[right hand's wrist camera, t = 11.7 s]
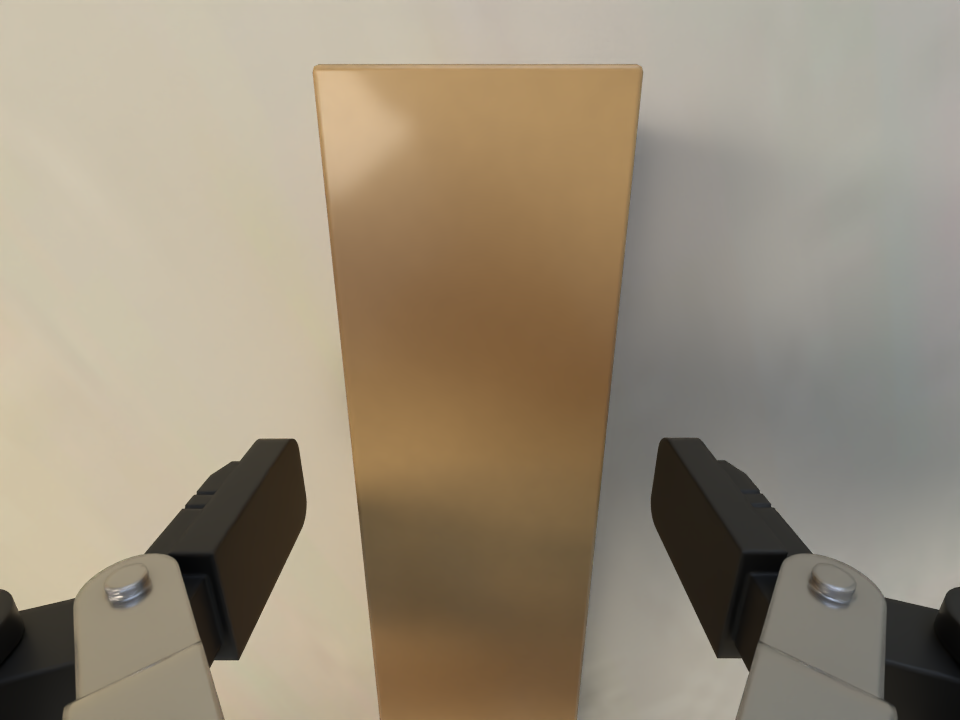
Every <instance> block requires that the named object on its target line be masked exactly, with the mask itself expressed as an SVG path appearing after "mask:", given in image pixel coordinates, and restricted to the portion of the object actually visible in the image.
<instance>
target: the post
mask: <svg viewBox="0 0 960 720" xmlns="http://www.w3.org/2000/svg"><path fill="white" fill-rule="evenodd" d="M642 78H643V70H642V67H641V66H639V65H637V64H318V65H316V66H314V69H313V80H314V89H315V99H316V109H317V118H318V128H319V138H320V147H321V157H322V166H323V176H324V186H325V195H326V205H327V214H328V224H329V234H330V243H331V253H332V263H333V272H334V282H335V291H336V301H337V311H338V320H339V330H340V339H341V349H342V359H343V368H344V378H345V388H346V397H347V407H348V416H349V426H350V436H351V445H352V455H353V464H354V474H355V484H356V493H357V503H358V512H359V522H360V532H361V541H362V551H363V561H364V570H365V580H366V589H367V599H368V609H369V618H370V628H371V637H372V647H373V657H374V666H375V676H376V686H377V695H378V705H379V714H380V720H577V712H578V702H579V692H580V683H581V673H582V663H583V653H584V644H585V634H586V624H587V614H588V605H589V595H590V585H591V575H592V566H593V556H594V546H595V536H596V527H597V517H598V507H599V497H600V488H601V478H602V468H603V458H604V449H605V439H606V429H607V419H608V410H609V400H610V390H611V381H612V371H613V361H614V351H615V342H616V332H617V322H618V312H619V303H620V293H621V283H622V273H623V264H624V254H625V244H626V234H627V225H628V215H629V205H630V195H631V186H632V176H633V166H634V156H635V147H636V137H637V127H638V117H639V108H640V98H641V88H642Z"/></svg>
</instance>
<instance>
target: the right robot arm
mask: <svg viewBox="0 0 960 720" xmlns="http://www.w3.org/2000/svg"><path fill="white" fill-rule="evenodd" d="M306 505H307V502H306V492H305V486H304V479H303V472H302V466H301V459H300V452H299V447H298V444H297V442H296V440H295V439H258V440H257V441H256V442H255V443H254V444H253V445H252V447H251V448H250V449H249V450H248V452H247V453H246V454H245V455H244V457H243V458H242V459H241V461H232V462H230V463H229V464H227V465H226V466H224V467H223V468H221V469H220V470H218V471H217V472H215V473H213V474H212V475H210V477H209V478H208V479H207V480H206V481H205V483H204V484H203V485H202V486H201V487H200V488H199V490H198V491H197V495H194V496H193V497H192V498H191V499H190V500H189V502H188V503H187V504H186V505H185V509H182V510H181V511H180V512H179V513H178V515H177V516H176V517H175V518H174V519H173V520H172V522H171V523H170V524H169V525H168V526H167V528H166V529H165V530H164V531H163V532H162V534H161V535H160V536H159V537H158V538H157V539H156V541H155V542H154V543H153V544H152V545H151V547H150V548H149V549H148V550H147V551H146V552H145V554H143V555H138V556H134V557H131V558H127V559H124V560H122V561H120V562H117V563H115V564H113V565H111V566H109V567H107V568H106V569H104V570H102V571H101V572H99V573H98V574H97V575H95V576H94V577H93V578H91V579H90V580H89V581H88V582H87V583H86V584H85V585H84V586H83V587H82V588H81V590H80V591H79V593H78V594H77V596H76V598H74V599H70V600H66V601H62V602H57V603H53V604H48V605H44V606H40V607H35V608H31V609H27V610H22V611H18V609H17V607H16V605H15V602H14V600H13V598H12V595H11V594H10V593H9V592H7V591H5V590H2V589H0V720H224V716H223V713H222V709H221V706H220V703H219V699H218V696H217V692H216V689H215V685H214V682H213V679H212V675H211V672H210V667H211V665H212V663H213V661H214V660H239V659H240V657H241V655H242V652H243V650H244V648H245V646H246V644H247V642H248V640H249V638H250V636H251V634H252V632H253V629H254V627H255V625H256V623H257V621H258V619H259V617H260V615H261V613H262V611H263V609H264V606H265V604H266V602H267V600H268V598H269V596H270V594H271V592H272V590H273V588H274V586H275V583H276V581H277V579H278V577H279V575H280V573H281V571H282V569H283V567H284V565H285V563H286V560H287V558H288V556H289V554H290V552H291V550H292V548H293V546H294V544H295V542H296V540H297V537H298V535H299V533H300V531H301V529H302V527H303V524H304V520H305V516H306ZM651 512H652V518H653V522H654V525H655V527H656V529H657V532H658V534H659V536H660V538H661V540H662V542H663V544H664V546H665V549H666V551H667V553H668V555H669V557H670V559H671V561H672V563H673V565H674V568H675V570H676V572H677V574H678V576H679V578H680V580H681V582H682V584H683V587H684V589H685V591H686V593H687V595H688V597H689V599H690V601H691V604H692V606H693V608H694V610H695V612H696V614H697V616H698V618H699V620H700V623H701V625H702V627H703V629H704V631H705V633H706V635H707V637H708V639H709V642H710V644H711V646H712V648H713V650H714V652H715V654H716V656H717V658H742V659H743V661H744V663H745V665H746V667H747V669H748V671H749V675H748V679H747V682H746V685H745V689H744V692H743V696H742V699H741V703H740V706H739V709H738V713H737V716H736V720H960V587H956V588H953V589H951V590H949V591H948V592H947V593H946V596H945V598H944V600H943V603H942V605H941V607H940V609H939V610H937V609H933V608H928V607H924V606H920V605H915V604H911V603H906V602H902V601H898V600H893V599H889V598H885V597H884V596H883V594H882V593H881V591H880V590H879V588H878V587H877V586H876V585H875V584H874V583H873V582H872V581H871V580H870V579H869V578H867V577H866V576H865V575H863V574H862V573H861V572H859V571H858V570H856V569H854V568H853V567H851V566H849V565H847V564H845V563H843V562H840V561H838V560H836V559H833V558H829V557H826V556H822V555H817V554H812V552H811V551H810V550H809V549H808V548H807V547H806V545H805V544H804V543H803V542H802V541H801V539H800V538H799V537H798V536H797V535H796V533H795V532H794V531H793V530H792V529H791V527H790V526H789V525H788V524H787V523H786V521H785V520H784V519H783V518H782V517H781V515H780V514H779V513H778V512H777V511H776V509H775V508H771V503H770V502H769V501H768V500H767V499H766V497H765V496H764V495H763V494H760V490H759V489H758V488H757V487H756V486H755V484H754V483H753V482H752V481H751V480H750V478H749V477H748V476H747V475H746V474H745V473H743V472H742V471H740V470H739V469H737V468H736V467H734V466H733V465H731V464H730V463H728V462H726V461H725V460H716V459H715V457H714V456H713V455H712V453H711V452H710V451H709V450H708V448H707V447H706V446H705V444H704V443H703V442H702V441H701V440H700V439H699V438H663V439H662V440H661V441H660V443H659V447H658V453H657V460H656V467H655V474H654V480H653V487H652V494H651Z"/></svg>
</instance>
